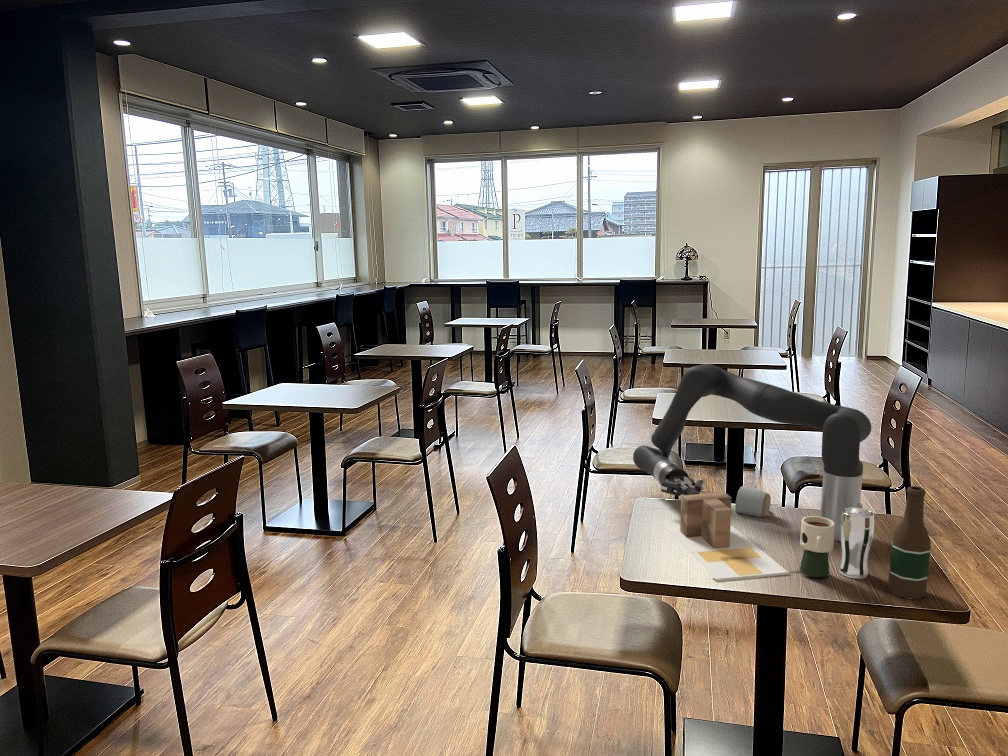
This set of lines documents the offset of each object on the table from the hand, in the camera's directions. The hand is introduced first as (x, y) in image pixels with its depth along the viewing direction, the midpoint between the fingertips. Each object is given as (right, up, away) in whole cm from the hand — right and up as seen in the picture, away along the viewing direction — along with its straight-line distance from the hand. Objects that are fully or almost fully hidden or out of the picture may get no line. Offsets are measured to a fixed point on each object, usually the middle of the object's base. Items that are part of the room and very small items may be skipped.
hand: (695, 496), depth 205 cm
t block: (+2, -9, -8) cm, 13 cm away
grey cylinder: (+19, -6, +10) cm, 22 cm away
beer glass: (+30, -14, -27) cm, 43 cm away
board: (+3, -11, -15) cm, 19 cm away
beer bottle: (+37, -15, -37) cm, 55 cm away
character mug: (+21, -14, -28) cm, 37 cm away
